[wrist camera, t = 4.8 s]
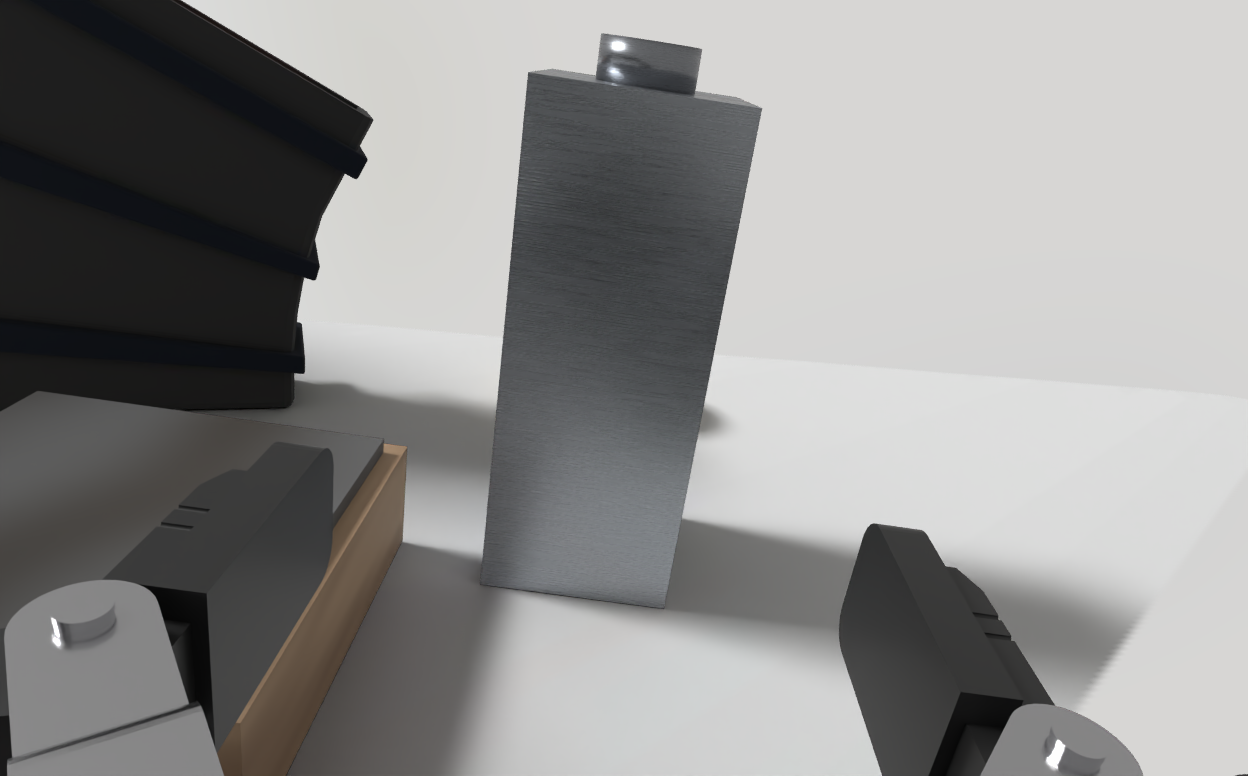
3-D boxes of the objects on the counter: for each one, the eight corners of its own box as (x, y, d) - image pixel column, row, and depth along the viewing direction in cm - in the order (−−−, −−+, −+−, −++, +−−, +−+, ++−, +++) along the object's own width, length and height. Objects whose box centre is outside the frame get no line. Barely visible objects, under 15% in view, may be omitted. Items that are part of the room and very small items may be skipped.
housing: (480, 584, 22) (533, 20, 17) (508, 493, 27) (556, 28, 22) (663, 608, 22) (771, 57, 17) (660, 513, 27) (744, 57, 22)
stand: (-354, 784, 14) (-418, 620, 13) (46, 492, 23) (31, 381, 22) (245, 856, 14) (239, 703, 13) (402, 540, 23) (407, 433, 22)
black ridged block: (-168, 329, 27) (16, -99, 24) (238, 465, 34) (416, 140, 31) (-228, 374, 24) (-22, -114, 21) (235, 514, 30) (433, 156, 28)
